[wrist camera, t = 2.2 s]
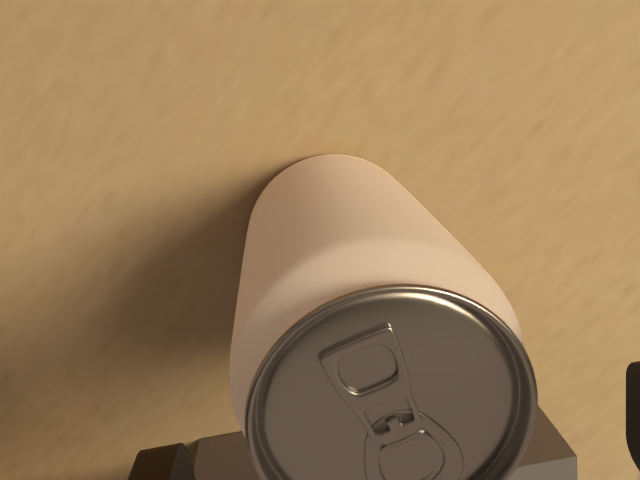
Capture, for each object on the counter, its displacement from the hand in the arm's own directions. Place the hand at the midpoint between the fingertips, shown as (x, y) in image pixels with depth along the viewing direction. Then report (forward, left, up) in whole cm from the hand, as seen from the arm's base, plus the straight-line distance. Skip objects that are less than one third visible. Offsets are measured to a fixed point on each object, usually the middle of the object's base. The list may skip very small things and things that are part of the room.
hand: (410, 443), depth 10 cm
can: (0, 0, -13) cm, 13 cm away
